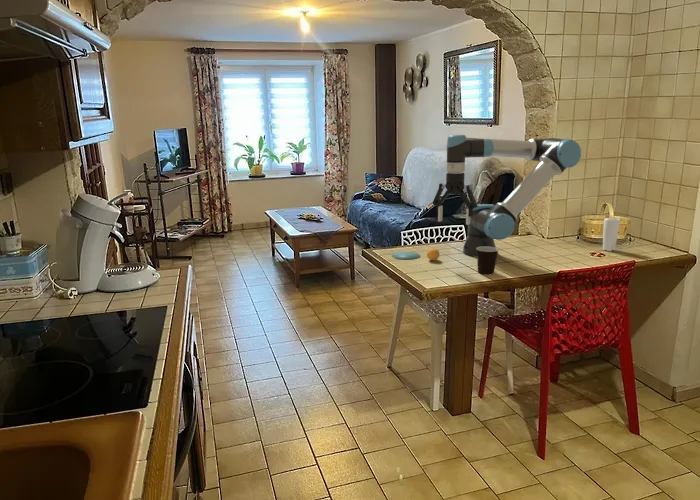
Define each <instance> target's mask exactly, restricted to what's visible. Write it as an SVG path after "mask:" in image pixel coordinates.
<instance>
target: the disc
mask: <svg viewBox="0 0 700 500" xmlns="http://www.w3.org/2000/svg"><path fill="white" fill-rule="evenodd" d="M391 257H392V258H393V257H394V259H396V258H397V260H406V261H407V260H408V261H409V260H416V259H418V258H420V257H421V255H420V254H419V253H418V252H412V251H398V252H394V253H393V254H392V255H391Z"/></svg>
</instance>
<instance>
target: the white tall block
mask: <svg viewBox="0 0 700 500" xmlns="http://www.w3.org/2000/svg"><path fill="white" fill-rule="evenodd" d="M620 225H621V219H620V218H617V217H605V218H604V219H603V225H602V226H603V227H602V250H604V251H605V250H607V251H606V252H613V251H612V250H614V251H616V245H617V241H618V237H619V236H618V235H619V231H620Z"/></svg>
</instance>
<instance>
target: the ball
mask: <svg viewBox="0 0 700 500" xmlns="http://www.w3.org/2000/svg"><path fill="white" fill-rule="evenodd" d="M439 251H440V250H438V249H437V248H435V247H433V248H430V249H428V251H427V252H426V256H427V258H428V260H430V261H432V262H433V261H436V260H438V259H439V258H440V252H439Z"/></svg>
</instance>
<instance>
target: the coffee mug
mask: <svg viewBox="0 0 700 500" xmlns="http://www.w3.org/2000/svg"><path fill="white" fill-rule="evenodd" d="M476 250H477V257H476V262H477V272H478V274H481V275H484V274H485V275H486V274H487V275H488V276H489V274H491V275H494V274H493V273H495V268H496V264H497V257H498V254H499V253H498V252H499V249H498V248H497V247H496V248H494V247H487V246H483V247H477V248H476ZM487 275H486V276H487Z"/></svg>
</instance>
